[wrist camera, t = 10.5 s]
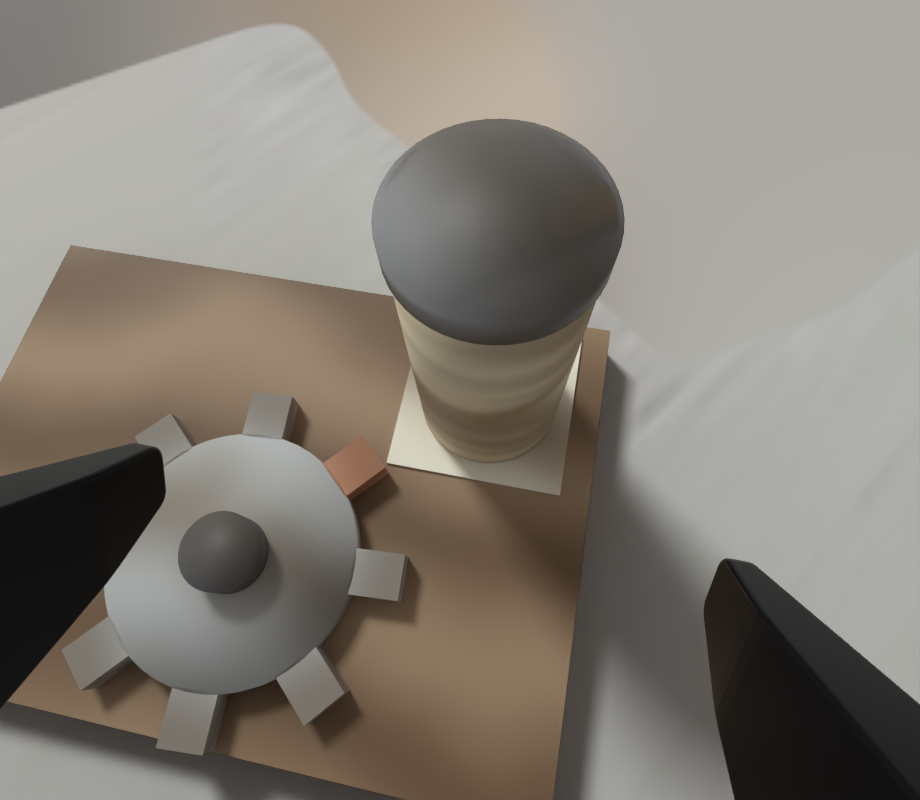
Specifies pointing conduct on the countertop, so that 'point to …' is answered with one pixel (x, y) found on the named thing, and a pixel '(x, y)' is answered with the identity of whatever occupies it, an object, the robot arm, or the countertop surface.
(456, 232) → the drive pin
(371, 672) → the sprocket board
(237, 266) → the countertop surface
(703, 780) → the countertop surface
